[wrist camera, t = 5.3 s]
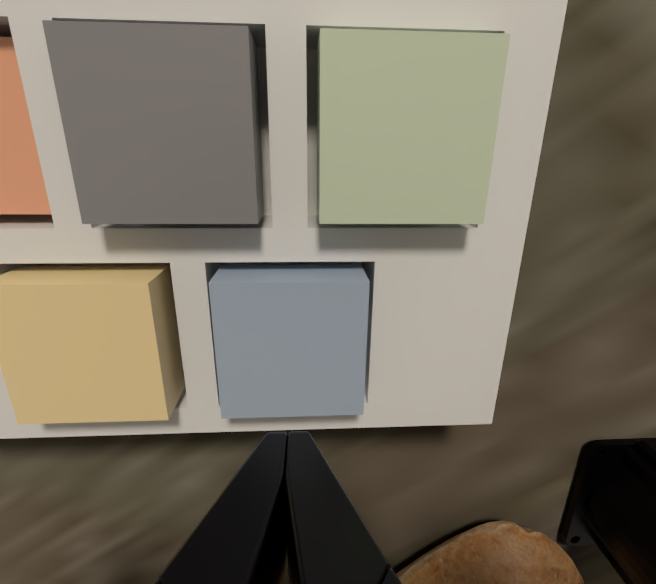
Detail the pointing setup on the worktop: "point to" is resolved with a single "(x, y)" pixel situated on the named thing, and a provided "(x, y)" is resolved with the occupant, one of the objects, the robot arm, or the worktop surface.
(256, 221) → the key charcoal
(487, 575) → the tan boot
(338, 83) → the key sage
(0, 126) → the key terracotta
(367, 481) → the worktop surface
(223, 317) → the key slate
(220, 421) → the keypad
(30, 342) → the block
